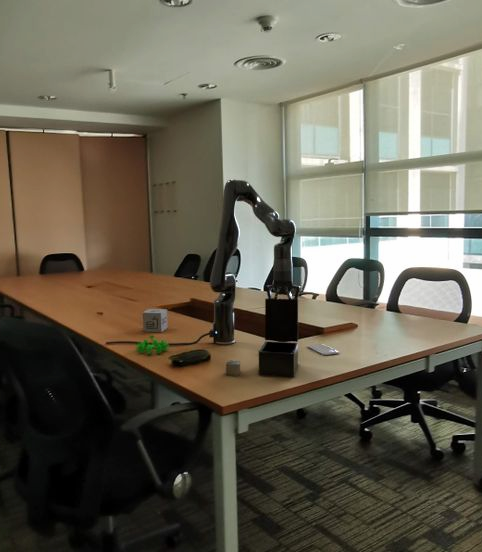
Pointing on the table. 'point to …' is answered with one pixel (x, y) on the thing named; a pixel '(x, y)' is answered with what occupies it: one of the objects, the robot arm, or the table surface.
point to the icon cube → (155, 320)
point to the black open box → (278, 359)
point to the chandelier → (152, 346)
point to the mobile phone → (323, 349)
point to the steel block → (233, 368)
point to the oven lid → (281, 319)
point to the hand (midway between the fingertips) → (283, 311)
